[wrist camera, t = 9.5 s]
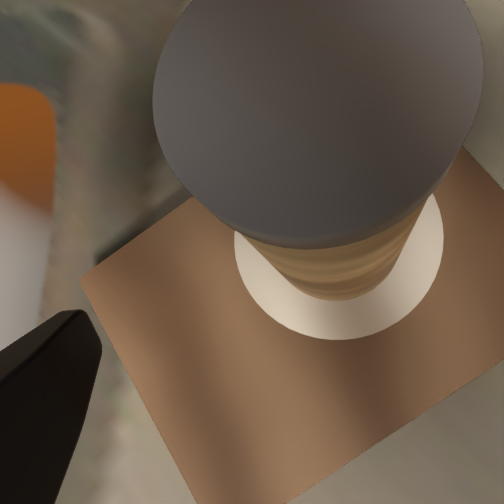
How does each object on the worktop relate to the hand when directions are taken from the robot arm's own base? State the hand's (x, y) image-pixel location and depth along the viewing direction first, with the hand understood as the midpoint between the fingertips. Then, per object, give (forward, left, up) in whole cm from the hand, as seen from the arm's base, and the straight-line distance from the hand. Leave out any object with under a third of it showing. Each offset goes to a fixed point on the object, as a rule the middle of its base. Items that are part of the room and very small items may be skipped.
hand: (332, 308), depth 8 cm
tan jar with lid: (+2, +3, -10) cm, 10 cm away
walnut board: (0, +2, -11) cm, 12 cm away
